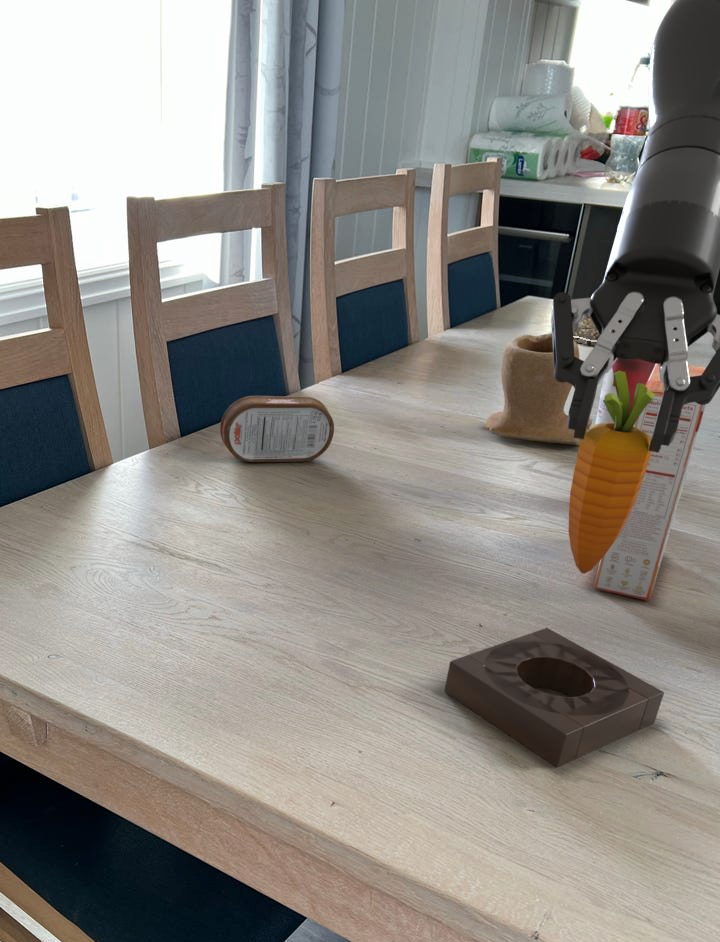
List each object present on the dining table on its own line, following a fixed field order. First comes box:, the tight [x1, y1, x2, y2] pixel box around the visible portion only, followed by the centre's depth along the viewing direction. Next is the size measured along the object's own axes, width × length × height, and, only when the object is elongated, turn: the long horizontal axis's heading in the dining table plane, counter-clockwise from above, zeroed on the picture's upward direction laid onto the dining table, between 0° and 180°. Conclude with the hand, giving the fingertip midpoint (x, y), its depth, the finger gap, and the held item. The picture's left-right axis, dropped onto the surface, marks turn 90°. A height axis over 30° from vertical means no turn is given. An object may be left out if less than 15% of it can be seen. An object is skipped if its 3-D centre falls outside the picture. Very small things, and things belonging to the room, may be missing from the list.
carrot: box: [568, 371, 655, 574], centre depth 70 cm, size 5×5×15 cm
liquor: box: [594, 358, 656, 426], centre depth 114 cm, size 7×7×28 cm
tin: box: [219, 395, 335, 463], centre depth 127 cm, size 15×3×8 cm, turn 102°
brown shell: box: [573, 316, 600, 347], centre depth 208 cm, size 13×12×5 cm
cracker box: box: [593, 364, 706, 601], centre depth 100 cm, size 14×6×21 cm, turn 154°
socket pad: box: [444, 627, 665, 768], centre depth 79 cm, size 12×12×3 cm
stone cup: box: [484, 332, 593, 446], centre depth 140 cm, size 15×12×15 cm
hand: (617, 438), depth 67 cm, fingers closed on carrot, 4 cm apart
